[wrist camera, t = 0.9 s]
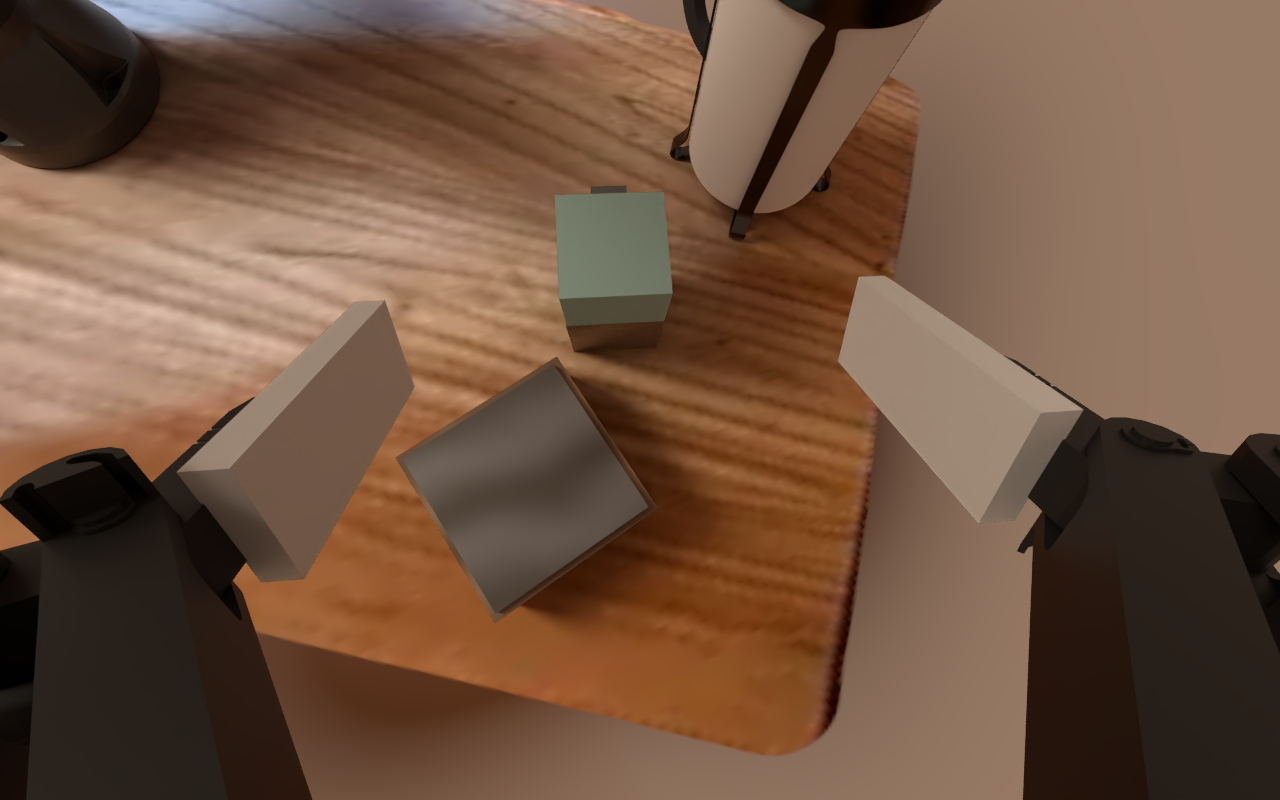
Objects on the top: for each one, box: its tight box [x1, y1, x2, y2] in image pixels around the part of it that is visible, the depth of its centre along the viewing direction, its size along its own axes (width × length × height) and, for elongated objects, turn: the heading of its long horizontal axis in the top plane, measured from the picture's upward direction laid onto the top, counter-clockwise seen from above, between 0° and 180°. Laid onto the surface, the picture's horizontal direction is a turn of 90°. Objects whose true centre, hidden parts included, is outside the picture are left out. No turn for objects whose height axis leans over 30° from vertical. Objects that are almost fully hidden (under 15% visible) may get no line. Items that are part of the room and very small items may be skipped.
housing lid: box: [555, 186, 673, 326], centre depth 32 cm, size 7×9×5 cm
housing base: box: [566, 321, 664, 352], centre depth 38 cm, size 7×7×6 cm
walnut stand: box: [395, 357, 658, 623], centre depth 35 cm, size 13×13×6 cm
